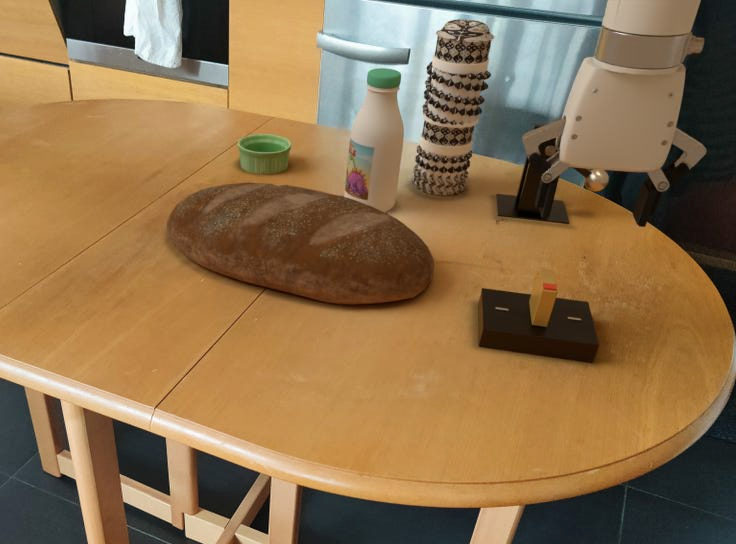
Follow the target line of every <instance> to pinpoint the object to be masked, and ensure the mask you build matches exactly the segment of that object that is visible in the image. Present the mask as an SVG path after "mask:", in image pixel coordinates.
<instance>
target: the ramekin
mask: <svg viewBox="0 0 736 544" xmlns="http://www.w3.org/2000/svg"><path fill="white" fill-rule="evenodd" d="M237 149H238V151H239V153H238V154H239V165H240V168H241V169H242V170H244V171H245V172H248V173H250V174H256V175H274V174H279V173H283V172H284V171H286V170H287V169H288V167H289V159H290V151H291V149H292V141H291V140H289V139H288V138H287V137H284V136H281V135H277V134H273V133H272V134H271V133H256V134H250V135H246V136H243V137H242V138H240V139H239V140H238V141H237Z"/></svg>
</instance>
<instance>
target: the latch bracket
mask: <svg viewBox="0 0 736 544" xmlns="http://www.w3.org/2000/svg"><path fill="white" fill-rule="evenodd" d="M545 125H546V124H536V123H535V124H533V127H532V130H535V129H537V128H540V127H542V126H545ZM556 138H557V137H556ZM556 138H553V139H550V140H548V141H545V142H543V143H541V144H540V145H539V146H538V149H539V152H540V153H541V155H542V156H543V157H544V158H545V160H547V159H549V158H550V157H551V156H552V155H554V154H555V153H556V152H557V151H558V150H557V149H556ZM560 176H561V174H560V175H559V176H558V177H556V183H557V184H559V183H558V182H559V179H560ZM540 179H541V177H540V176H539V175H538V173H537V172H536V171H535V170H534V168H533V167H532V166H531V165H530V163H529V160H528V156H527V155H526V156H525V160H524V164H523V169H522V172H521V176H520V179H519V185H518V188H517V192H516V195H514V194H506V193H505V194H503V193H496V195H495V196H496V197H495V198H496V209H497V210H496V212H497V217H501V218H510V219H520V220H528V221H536V222H537V221H538V222H547V223H555V224H562V225H563V224H565V225H569V224H570V221H569V217H568V212H567V210H566V209H567V208H566V205H565V202H564V200H560V199H554V200H553V204H552V208H551V212H550V216H549V218H547V219H543V218H541V213H540V208H539V207H536V206H535V201H536V196H537V192H538V188H539V184H540Z"/></svg>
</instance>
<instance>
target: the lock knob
mask: <svg viewBox="0 0 736 544" xmlns="http://www.w3.org/2000/svg"><path fill="white" fill-rule="evenodd" d="M530 294H531V297H530V300H529V305H530V313H531V321H532V325H535V326H543V327H547V325H548V322H549V318H550V315H551V312H552V309H553V306H554V303H555V299H556V298H557V296H558V288H557V281H556V276H555V272H554V269H549V268H542V267H539V268H538V269H537V272H536V275H535V279H534V283H533V287H532V290H531V292H530Z"/></svg>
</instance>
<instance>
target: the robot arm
mask: <svg viewBox="0 0 736 544" xmlns="http://www.w3.org/2000/svg"><path fill="white" fill-rule="evenodd" d="M701 1H702V0H607V2H606V6H605V11H604V15H603V18H602V22H601V27H600V30H599V34H598V37H597V42H596V45H595V50H594V54H593V56H588V57H585V58H583V61H582V62H581V65H580V67H579V68H578V71H577V73H576V76H575V79H574V81H573V83H572V86H571V89H570V92H569V94H568V97H567V100H566V103H565V106H564V110H563V113H562V117H561V119H557V120H556V121H552V122H550V123H548V124H544V125H545V126H542V127H540V128H537V129H535V130H533V129H532V130H529V131H527V132H525V133H523V135H522V136H521V140H522V144H523V147H524V150H525V153H526V156H528V160H529V163H530V165H531V166H532V167H533V168H534V170H535V171H536V172H537V173H538V175H539V176H540V177H541V179H540V184H539V188H538V192H537V196H536V201H535V206H536V207H539V208H540V213H541V218H543V219H547V218H549V216H550V212H551V208H552V204H553V200H555V196H556V192H557V189H558V183H556V177H558V176H559V175H560V176H561V175H562V174H563V173H564V172H565V171H567V170H569V168H572V167H575V168H586V169H590V170H593V169H599V170H604V171H615V172H627V173H628V172H630V173H646V174H647V175H648V178H647V179H645V180H644V181H643V182H642V184H641V187H640V190H639V193H638V196H637V199H636V202H635V206H634V208H633V211H632V217H633V219H634V222H635V224H636V225H637V226H638V227H639V228H640V227H641V228H642V227H643V228H645V227H646V226H647V223H648V221H649V217H654V215H655V214H656V212H657V211H656V210H657V208H658V205H659V202H660V198H661V197H662V193H663V192H666V191H667V190H668V189H669V188H670V186H671V185H673V184H674V183H676V182H677V181H679V180H680V179H682V178H683V177H685V176H687V175H689V172H690V170H691V169H692V168H693V167H694V166H696V165H697V164H698V163H699V161H700V160H701V159H702V158H704V156H705V155H706V154H707V152H708V151H707V148H706V147H705V146H704V144H703V143H702V142H700V141H698V140H697V139H695V138H693V137H692V136H690V135H689V134H688V133H686V132H684V131H682V130H681V129H679V128H678V127H677V124H678V120H679V117H680V116H679V115H680V111H681V105H682V101H683V95H684V88H685V81H686V70H687V69H686V66H685V65H684V64H683V63H684V60H685V59H686V57H687V56H688V55H691V54H701V52H702V51H703V48H704V45H705V38H704V37H696V35H693V32H692V29H693V26H694V22H695V21H696V16H697V13H698V10H699V8H700V4H701ZM556 137H557V138H556ZM553 138H556V149H557V150H558V151H557V152H556V153H555V154H554V155H552V156H551V157H550V158H549V159H547V160H545V158H544V157H543V156H542V155H541V153H540V152H539V149H538V146H539V145H540V144H541V143H543V142H545V141H548V140H550V139H553ZM672 145H673V146H674V147H677V148H678V149H680V150H682V151H683V153H682V154H681V155H680V156H679V158H678V159H676V160H674V161H673V162H671V163H669V164H668V165H666V166H664V165H665V163H666V160H667V158H668V155H669V153H670V151H671V147H672ZM663 166H664V167H663ZM662 167H663V168H662ZM560 176H559V177H560Z"/></svg>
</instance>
